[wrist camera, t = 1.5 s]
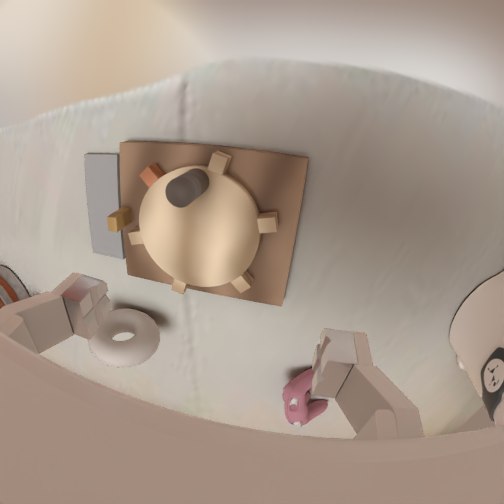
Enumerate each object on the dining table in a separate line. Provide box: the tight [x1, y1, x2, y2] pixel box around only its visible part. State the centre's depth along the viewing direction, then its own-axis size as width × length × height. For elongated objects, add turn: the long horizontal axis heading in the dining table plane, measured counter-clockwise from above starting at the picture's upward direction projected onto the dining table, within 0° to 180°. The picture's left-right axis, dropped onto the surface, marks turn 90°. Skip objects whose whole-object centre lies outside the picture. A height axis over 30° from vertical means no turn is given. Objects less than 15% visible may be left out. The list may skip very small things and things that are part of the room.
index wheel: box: [128, 151, 278, 294], centre depth 27 cm, size 15×15×6 cm
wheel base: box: [107, 141, 308, 306], centre depth 29 cm, size 19×16×4 cm
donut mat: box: [84, 153, 126, 259], centre depth 32 cm, size 5×13×1 cm, turn 174°
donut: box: [88, 308, 160, 368], centre depth 34 cm, size 10×4×10 cm, turn 85°
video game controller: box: [283, 368, 328, 426], centre depth 38 cm, size 10×5×7 cm, turn 12°
